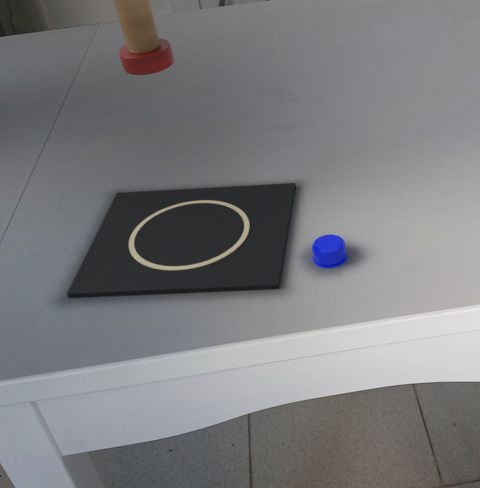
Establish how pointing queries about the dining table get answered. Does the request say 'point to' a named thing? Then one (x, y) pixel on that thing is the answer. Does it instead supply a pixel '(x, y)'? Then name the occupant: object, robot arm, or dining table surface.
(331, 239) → the bottle cap
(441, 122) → the dining table surface
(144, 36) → the stamp
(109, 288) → the mat
